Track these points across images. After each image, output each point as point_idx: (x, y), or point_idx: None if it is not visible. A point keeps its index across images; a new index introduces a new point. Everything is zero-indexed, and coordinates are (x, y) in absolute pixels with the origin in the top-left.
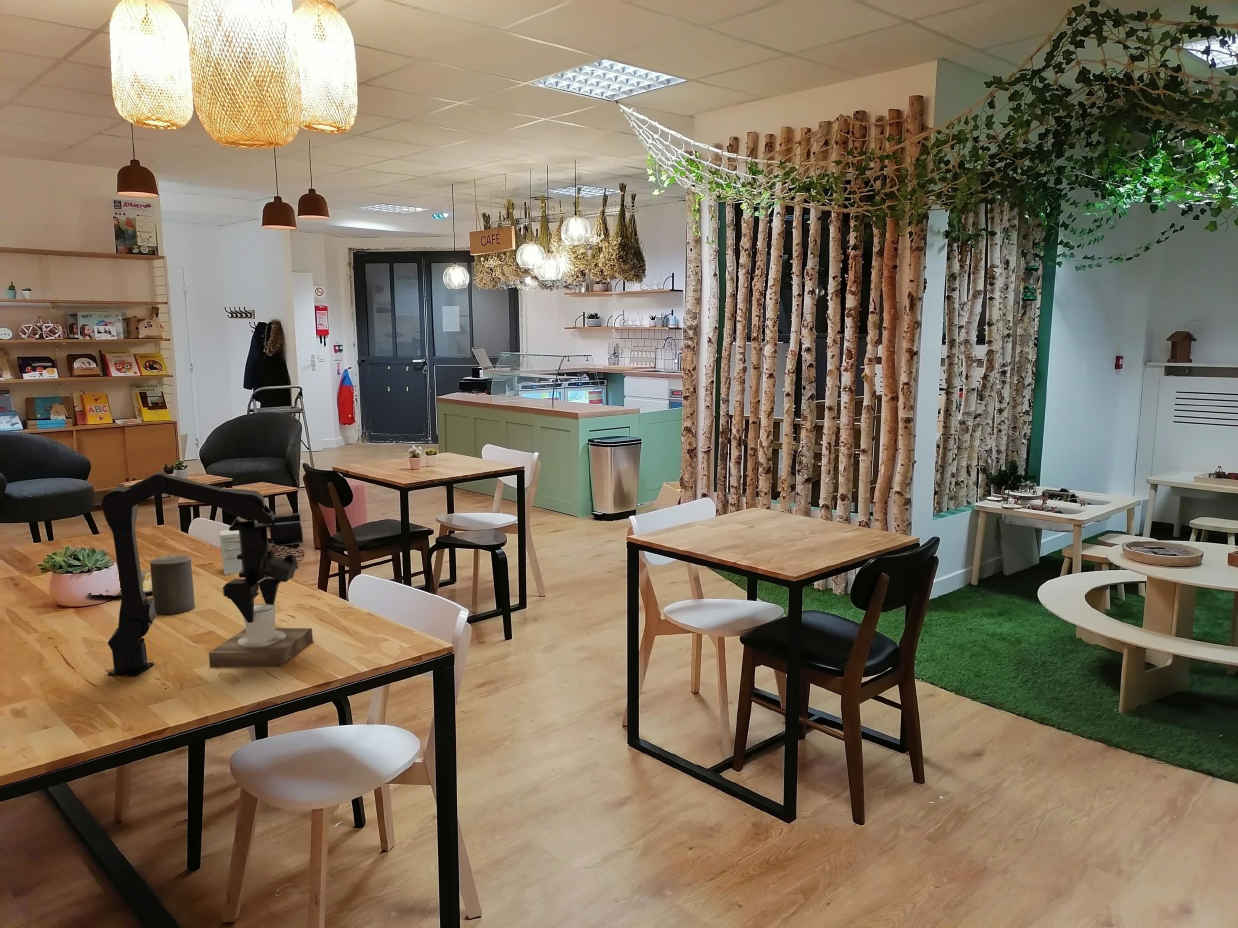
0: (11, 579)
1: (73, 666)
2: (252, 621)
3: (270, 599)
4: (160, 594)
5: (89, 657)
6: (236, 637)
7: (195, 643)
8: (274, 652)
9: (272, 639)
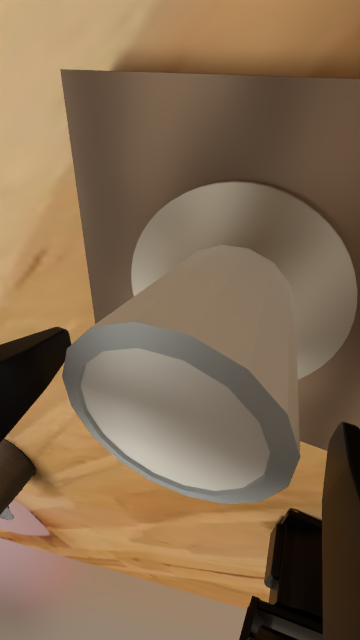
0: (3, 538)
1: (258, 576)
2: (358, 428)
3: (14, 377)
4: (6, 503)
5: (216, 555)
6: None
7: None
8: None
9: (264, 245)
